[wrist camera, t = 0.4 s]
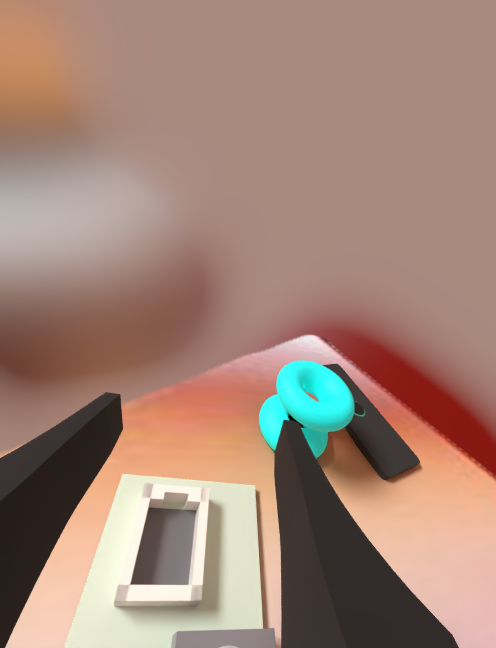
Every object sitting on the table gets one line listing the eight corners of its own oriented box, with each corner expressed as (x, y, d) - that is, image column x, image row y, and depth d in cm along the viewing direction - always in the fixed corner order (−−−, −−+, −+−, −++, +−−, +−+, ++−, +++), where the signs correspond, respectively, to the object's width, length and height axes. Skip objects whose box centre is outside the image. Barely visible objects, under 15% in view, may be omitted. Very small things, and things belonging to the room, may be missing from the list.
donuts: (371, 397, 32) (334, 439, 25) (334, 439, 38) (295, 483, 31) (310, 347, 37) (265, 372, 30) (284, 391, 42) (242, 420, 36)
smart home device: (338, 362, 51) (422, 461, 38) (334, 368, 52) (415, 466, 39) (307, 366, 47) (388, 477, 34) (303, 372, 48) (380, 483, 35)
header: (196, 605, 20) (201, 600, 19) (113, 606, 19) (113, 600, 18) (205, 497, 26) (209, 488, 25) (143, 492, 25) (145, 483, 24)
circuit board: (270, 842, 14) (275, 847, 14) (-20, 902, 12) (-25, 910, 11) (252, 488, 29) (254, 485, 29) (122, 477, 26) (122, 473, 26)
